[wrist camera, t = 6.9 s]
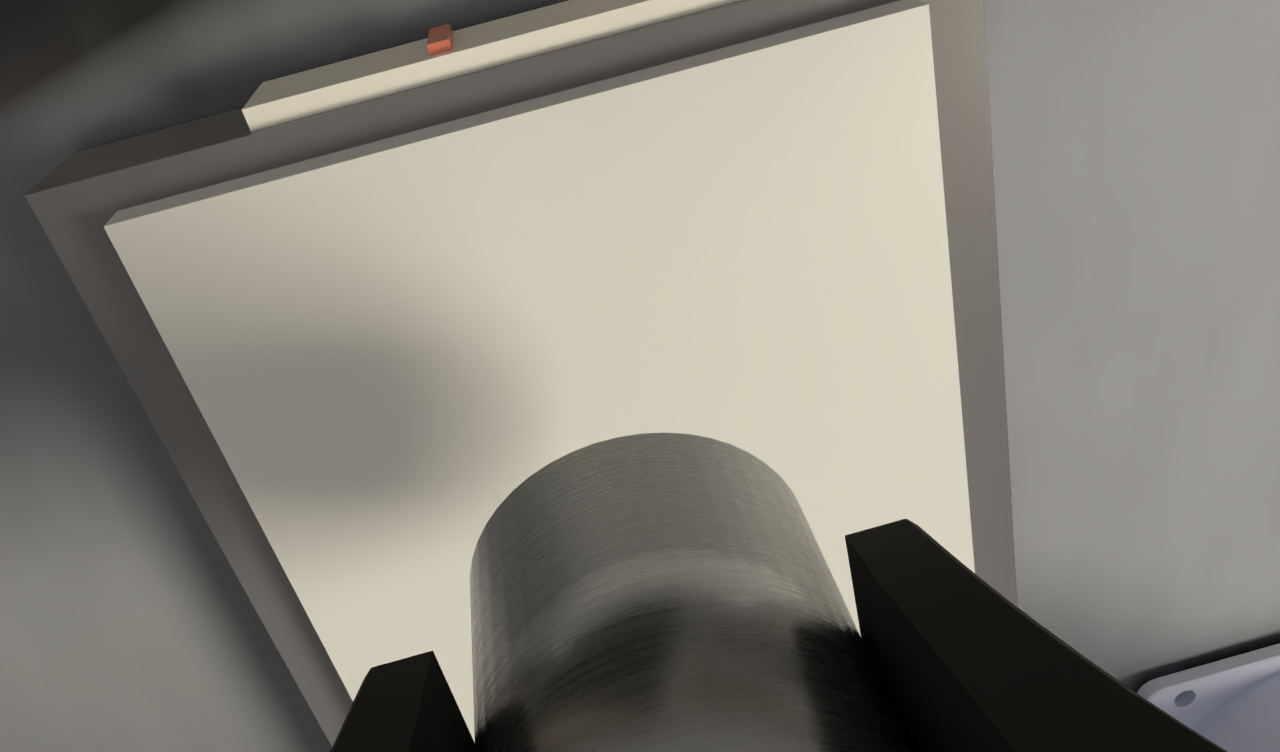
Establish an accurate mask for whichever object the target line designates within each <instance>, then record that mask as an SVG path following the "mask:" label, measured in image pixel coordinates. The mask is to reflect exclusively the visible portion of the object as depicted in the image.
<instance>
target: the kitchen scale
mask: <svg viewBox="0 0 1280 752" xmlns="http://www.w3.org/2000/svg"><path fill="white" fill-rule="evenodd" d="M25 198H26V200H27V201H28V203H29V205H30V207H31V209H32V210H33V212H34V214H35V216H36V218H37V219H38V221H39V223H40V225H41V226H42V228H43V230H44V232H45V234H46V235H47V237H48V239H49V241H50V243H51V244H52V246H53V248H54V250H55V252H56V253H57V255H58V257H59V259H60V261H61V262H62V264H63V266H64V268H65V270H66V271H67V273H68V275H69V277H70V278H71V280H72V282H73V284H74V286H75V287H76V289H77V291H78V293H79V295H80V296H81V298H82V300H83V302H84V304H85V305H86V307H87V309H88V311H89V313H90V314H91V316H92V318H93V320H94V321H95V323H96V325H97V327H98V329H99V330H100V332H101V334H102V336H103V338H104V339H105V341H106V343H107V345H108V347H109V348H110V350H111V352H112V354H113V356H114V357H115V359H116V361H117V363H118V365H119V366H120V368H121V370H122V372H123V373H124V375H125V377H126V379H127V381H128V382H129V384H130V386H131V388H132V390H133V391H134V393H135V395H136V397H137V399H138V400H139V402H140V404H141V406H142V408H143V409H144V411H145V413H146V415H147V417H148V418H149V420H150V422H151V424H152V425H153V427H154V429H155V431H156V433H157V434H158V436H159V438H160V440H161V442H162V443H163V445H164V447H165V449H166V451H167V452H168V454H169V456H170V458H171V460H172V461H173V463H174V465H175V467H176V468H177V470H178V472H179V474H180V476H181V477H182V479H183V481H184V483H185V485H186V486H187V488H188V490H189V492H190V494H191V495H192V497H193V499H194V501H195V503H196V504H197V506H198V508H199V510H200V512H201V513H202V515H203V517H204V519H205V520H206V522H207V524H208V526H209V528H210V529H211V531H212V533H213V535H214V537H215V538H216V540H217V542H218V544H219V546H220V547H221V549H222V551H223V553H224V555H225V556H226V558H227V560H228V562H229V563H230V565H231V567H232V569H233V571H234V572H235V574H236V576H237V578H238V580H239V581H240V583H241V585H242V587H243V589H244V590H245V592H246V594H247V596H248V598H249V599H250V601H251V603H252V605H253V607H254V608H255V610H256V612H257V614H258V615H259V617H260V619H261V621H262V623H263V624H264V626H265V628H266V630H267V632H268V633H269V635H270V637H271V639H272V641H273V642H274V644H275V646H276V648H277V650H278V651H279V653H280V655H281V657H282V659H283V660H284V662H285V664H286V666H287V667H288V669H289V671H290V673H291V675H292V676H293V678H294V680H295V682H296V684H297V685H298V687H299V689H300V691H301V693H302V694H303V696H304V698H305V700H306V702H307V703H308V705H309V707H310V709H311V710H312V712H313V714H314V716H315V718H316V719H317V721H318V723H319V725H320V727H321V728H322V730H323V732H324V734H325V736H326V737H327V739H328V741H329V743H330V745H331V746H332V747H333V744H334V742H335V740H336V738H337V736H338V734H339V732H340V729H341V727H342V725H343V723H344V721H345V719H346V716H347V714H348V712H349V710H350V708H351V705H352V703H353V701H354V699H355V697H356V695H357V693H358V690H359V688H360V686H361V684H362V682H363V680H364V678H365V676H366V675H367V673H368V672H369V670H370V668H372V667H375V666H379V665H382V664H386V663H390V662H393V661H397V660H400V659H404V658H408V657H411V656H415V655H418V654H422V653H425V652H429V651H433V652H434V654H435V656H436V658H437V661H438V663H439V665H440V667H441V670H442V672H443V674H444V676H445V678H446V681H447V683H448V685H449V687H450V689H451V692H452V694H453V696H454V698H455V700H456V703H457V705H458V707H459V709H460V712H461V714H462V716H463V718H464V720H465V723H466V725H467V727H468V729H469V731H470V734H471V736H472V738H473V740H474V742H475V733H474V700H473V668H472V636H471V603H470V571H471V563H472V558H473V554H474V551H475V548H476V545H477V542H478V540H479V538H480V535H481V533H482V531H483V529H484V527H485V525H486V523H487V522H488V521H489V519H490V518H491V516H492V515H493V513H494V512H495V511H496V509H497V508H498V506H499V505H500V504H501V503H502V502H503V501H504V500H505V499H506V498H507V497H508V495H509V494H510V493H511V492H512V491H513V490H514V489H515V488H517V487H518V486H519V485H520V484H521V483H523V482H524V481H525V480H526V479H527V478H528V477H530V476H531V475H533V474H534V473H536V472H537V471H539V470H540V469H542V468H543V467H545V466H546V465H548V464H549V463H551V462H553V461H555V460H557V459H559V458H561V457H563V456H565V455H567V454H569V453H570V452H573V451H576V450H578V449H581V448H583V447H586V446H589V445H591V444H594V443H598V442H602V441H605V440H609V439H613V438H617V437H623V436H629V435H636V434H645V433H680V434H691V435H697V436H702V437H707V438H712V439H715V440H718V441H722V442H725V443H728V444H731V445H734V446H736V447H738V448H740V449H742V450H744V451H746V452H748V453H751V454H752V455H754V456H755V457H757V458H758V459H760V460H761V461H763V462H764V463H766V464H767V465H768V466H769V467H771V468H772V469H773V470H774V471H775V472H776V473H777V474H778V475H779V476H781V478H782V479H783V480H784V481H785V483H786V484H787V485H788V486H789V488H790V489H791V490H792V492H793V494H794V495H795V497H796V499H797V501H798V503H799V504H800V506H801V509H802V511H803V513H804V515H805V517H806V519H807V522H808V524H809V526H810V528H811V530H812V532H813V535H814V537H815V539H816V541H817V543H818V545H819V547H820V550H821V552H822V554H823V556H824V558H825V560H826V563H827V565H828V567H829V569H830V571H831V573H832V576H833V578H834V580H835V582H836V584H837V586H838V589H839V591H840V593H841V595H842V597H843V599H844V602H845V604H846V606H847V608H848V610H849V612H850V615H851V617H852V619H853V621H854V623H855V625H856V627H857V630H858V632H859V634H860V628H859V621H858V615H857V609H856V603H855V597H854V590H853V584H852V578H851V572H850V566H849V559H848V553H847V547H846V541H845V535H848V534H852V533H856V532H859V531H863V530H866V529H870V528H874V527H877V526H881V525H884V524H888V523H891V522H895V521H899V520H902V519H908V520H910V521H911V522H913V523H915V524H917V525H918V526H920V527H921V528H922V529H923V530H924V531H925V532H926V533H928V534H929V535H930V536H931V537H932V538H933V539H934V540H936V541H937V542H938V543H939V544H940V545H941V546H943V547H944V548H945V549H946V550H947V551H949V552H950V553H951V554H952V555H953V556H954V557H956V558H957V559H958V560H959V561H960V562H962V563H963V564H964V565H965V566H966V567H968V568H969V569H970V570H971V571H973V572H974V573H975V574H976V575H977V576H979V577H980V578H981V579H982V580H984V581H985V582H986V583H987V584H989V585H990V586H991V587H992V588H994V589H995V590H996V591H997V592H999V593H1000V594H1001V595H1003V596H1004V597H1005V598H1006V599H1008V600H1009V601H1010V602H1011V603H1013V604H1014V605H1015V606H1016V607H1017V595H1016V577H1015V559H1014V540H1013V522H1012V504H1011V486H1010V468H1009V450H1008V432H1007V414H1006V396H1005V377H1004V359H1003V341H1002V323H1001V305H1000V287H999V269H998V251H997V232H996V214H995V196H994V178H993V160H992V142H991V124H990V106H989V88H988V69H987V51H986V33H985V15H984V0H568V1H564V2H561V3H557V4H553V5H549V6H546V7H542V8H538V9H535V10H531V11H527V12H523V13H520V14H516V15H512V16H508V17H505V18H501V19H497V20H493V21H490V22H486V23H482V24H478V25H475V26H471V27H467V28H463V29H460V30H456V31H452V29H451V26H450V23H449V24H445V25H441V26H437V27H434V28H430V29H429V34H428V38H426V39H422V40H419V41H415V42H411V43H407V44H404V45H400V46H396V47H392V48H389V49H385V50H381V51H377V52H374V53H370V54H366V55H363V56H359V57H355V58H351V59H348V60H344V61H340V62H336V63H333V64H329V65H325V66H321V67H318V68H314V69H310V70H306V71H303V72H299V73H295V74H292V75H288V76H284V77H280V78H277V79H273V80H269V81H265V82H262V84H261V85H260V86H259V87H258V89H257V90H256V91H255V93H254V94H253V95H252V97H251V98H250V99H249V101H248V102H247V103H246V104H245V106H244V107H242V108H238V109H234V110H231V111H227V112H223V113H219V114H216V115H212V116H208V117H205V118H201V119H197V120H193V121H190V122H186V123H182V124H178V125H175V126H171V127H167V128H163V129H160V130H156V131H152V132H149V133H145V134H141V135H137V136H134V137H130V138H126V139H122V140H119V141H115V142H111V143H107V144H104V145H100V146H96V147H93V148H89V149H85V150H81V151H78V152H75V153H73V154H72V155H71V156H70V157H69V158H68V159H67V160H65V161H64V162H63V163H62V164H61V165H60V166H58V167H57V168H56V169H55V170H54V171H53V172H51V173H50V174H49V175H48V176H47V177H46V178H44V179H43V180H42V181H41V182H40V183H39V184H37V185H36V186H35V187H34V188H33V189H32V190H30V191H29V192H28V193H27V194H26V195H25ZM860 636H861V634H860Z"/></svg>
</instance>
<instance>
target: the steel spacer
mask: <svg viewBox="0 0 1280 752" xmlns="http://www.w3.org/2000/svg"><path fill="white" fill-rule="evenodd" d="M470 603H471V636H472V668H473V700H474V733H475V752H914V751H913V749H912V746H911V744H910V742H909V740H908V738H907V736H906V733H905V731H904V729H903V727H902V725H901V723H900V720H899V718H898V716H897V714H896V712H895V710H894V707H893V705H892V703H891V701H890V699H889V697H888V694H887V692H886V690H885V688H884V686H883V684H882V682H881V679H880V677H879V675H878V673H877V671H876V669H875V666H874V664H873V662H872V660H871V658H870V656H869V653H868V651H867V649H866V647H865V645H864V643H863V640H862V638H861V636H860V634H859V632H858V630H857V627H856V625H855V623H854V621H853V619H852V617H851V615H850V612H849V610H848V608H847V606H846V604H845V602H844V599H843V597H842V595H841V593H840V591H839V589H838V586H837V584H836V582H835V580H834V578H833V576H832V573H831V571H830V569H829V567H828V565H827V563H826V560H825V558H824V556H823V554H822V552H821V550H820V547H819V545H818V543H817V541H816V539H815V537H814V535H813V532H812V530H811V528H810V526H809V524H808V522H807V519H806V517H805V515H804V513H803V511H802V509H801V506H800V504H799V503H798V501H797V499H796V497H795V495H794V494H793V492H792V490H791V489H790V488H789V486H788V485H787V484H786V483H785V481H784V480H783V479H782V478H781V476H779V475H778V474H777V473H776V472H775V471H774V470H773V469H772V468H771V467H769V466H768V465H767V464H766V463H764V462H763V461H761V460H760V459H758V458H757V457H755V456H754V455H752V454H751V453H748V452H746V451H744V450H742V449H740V448H738V447H736V446H734V445H731V444H728V443H725V442H722V441H718V440H715V439H712V438H707V437H702V436H697V435H691V434H680V433H645V434H636V435H629V436H623V437H617V438H613V439H609V440H605V441H602V442H598V443H594V444H591V445H589V446H586V447H583V448H581V449H578V450H576V451H573V452H570V453H569V454H567V455H565V456H563V457H561V458H559V459H557V460H555V461H553V462H551V463H549V464H548V465H546V466H545V467H543V468H542V469H540V470H539V471H537V472H536V473H534V474H533V475H531V476H530V477H528V478H527V479H526V480H525V481H524V482H523V483H521V484H520V485H519V486H518V487H517V488H515V489H514V490H513V491H512V492H511V493H510V494H509V495H508V497H507V498H506V499H505V500H504V501H503V502H502V503H501V504H500V505H499V506H498V508H497V509H496V511H495V512H494V513H493V515H492V516H491V518H490V519H489V521H488V522H487V523H486V525H485V527H484V529H483V531H482V533H481V535H480V538H479V540H478V542H477V545H476V548H475V551H474V554H473V558H472V563H471V571H470Z"/></svg>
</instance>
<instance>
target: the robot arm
mask: <svg viewBox="0 0 1280 752" xmlns="http://www.w3.org/2000/svg"><path fill="white" fill-rule="evenodd" d="M845 541H846V547H847V553H848V559H849V566H850V572H851V578H852V584H853V590H854V597H855V603H856V609H857V615H858V621H859V628H860V634H861V638H862V640H863V643H864V645H865V647H866V649H867V651H868V653H869V656H870V658H871V660H872V662H873V664H874V666H875V669H876V671H877V673H878V675H879V677H880V679H881V682H882V684H883V686H884V688H885V690H886V692H887V694H888V697H889V699H890V701H891V703H892V705H893V707H894V710H895V712H896V714H897V716H898V718H899V720H900V723H901V725H902V727H903V729H904V731H905V733H906V736H907V738H908V740H909V742H910V744H911V746H912V749H913V751H914V752H1280V643H1279V644H1275V645H1271V646H1268V647H1264V648H1261V649H1257V650H1254V651H1250V652H1247V653H1243V654H1240V655H1236V656H1233V657H1229V658H1226V659H1222V660H1219V661H1215V662H1212V663H1208V664H1204V665H1201V666H1197V667H1194V668H1190V669H1187V670H1183V671H1180V672H1176V673H1173V674H1169V675H1166V676H1162V677H1159V678H1155V679H1153V680H1150V681H1148V682H1147V683H1145V684H1144V685H1143V686H1142V687H1141V688H1140V689H1139V691H1138V692H1137V693H1135V692H1134V691H1133V690H1131V689H1130V688H1128V687H1127V686H1125V685H1124V684H1122V683H1121V682H1119V681H1118V680H1117V679H1115V678H1114V677H1112V676H1111V675H1109V674H1108V673H1106V672H1105V671H1104V670H1102V669H1101V668H1099V667H1098V666H1096V665H1095V664H1094V663H1092V662H1091V661H1090V660H1088V659H1087V658H1085V657H1084V656H1083V655H1081V654H1080V653H1079V652H1077V651H1076V650H1074V649H1073V648H1072V647H1070V646H1069V645H1068V644H1066V643H1065V642H1063V641H1062V640H1061V639H1059V638H1058V637H1057V636H1055V635H1054V634H1052V633H1051V632H1050V631H1048V630H1047V629H1046V628H1044V627H1043V626H1041V625H1040V624H1039V623H1037V622H1036V621H1035V620H1033V619H1032V618H1031V617H1030V616H1028V615H1027V614H1026V613H1024V612H1023V611H1022V610H1020V609H1019V608H1018V607H1016V606H1015V605H1014V604H1013V603H1011V602H1010V601H1009V600H1008V599H1006V598H1005V597H1004V596H1003V595H1001V594H1000V593H999V592H997V591H996V590H995V589H994V588H992V587H991V586H990V585H989V584H987V583H986V582H985V581H984V580H982V579H981V578H980V577H979V576H977V575H976V574H975V573H974V572H973V571H971V570H970V569H969V568H968V567H966V566H965V565H964V564H963V563H962V562H960V561H959V560H958V559H957V558H956V557H954V556H953V555H952V554H951V553H950V552H949V551H947V550H946V549H945V548H944V547H943V546H941V545H940V544H939V543H938V542H937V541H936V540H934V539H933V538H932V537H931V536H930V535H929V534H928V533H926V532H925V531H924V530H923V529H922V528H921V527H920V526H918V525H917V524H915V523H913V522H911V521H910V520H908V519H902V520H899V521H895V522H891V523H888V524H884V525H881V526H877V527H874V528H870V529H866V530H863V531H859V532H856V533H852V534H848V535H845ZM330 752H475V742H474V740H473V738H472V736H471V734H470V731H469V729H468V727H467V725H466V723H465V720H464V718H463V716H462V714H461V712H460V709H459V707H458V705H457V703H456V700H455V698H454V696H453V694H452V692H451V689H450V687H449V685H448V683H447V681H446V678H445V676H444V674H443V672H442V670H441V667H440V665H439V663H438V661H437V658H436V656H435V654H434V652H433V651H429V652H425V653H422V654H418V655H415V656H411V657H408V658H404V659H400V660H397V661H393V662H390V663H386V664H382V665H379V666H375V667H372V668H370V670H369V672H368V673H367V675H366V676H365V678H364V680H363V682H362V684H361V686H360V688H359V690H358V693H357V695H356V697H355V699H354V701H353V703H352V705H351V708H350V710H349V712H348V714H347V716H346V719H345V721H344V723H343V725H342V727H341V729H340V732H339V734H338V736H337V738H336V740H335V742H334V744H333V747H332V749H331V751H330Z"/></svg>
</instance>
